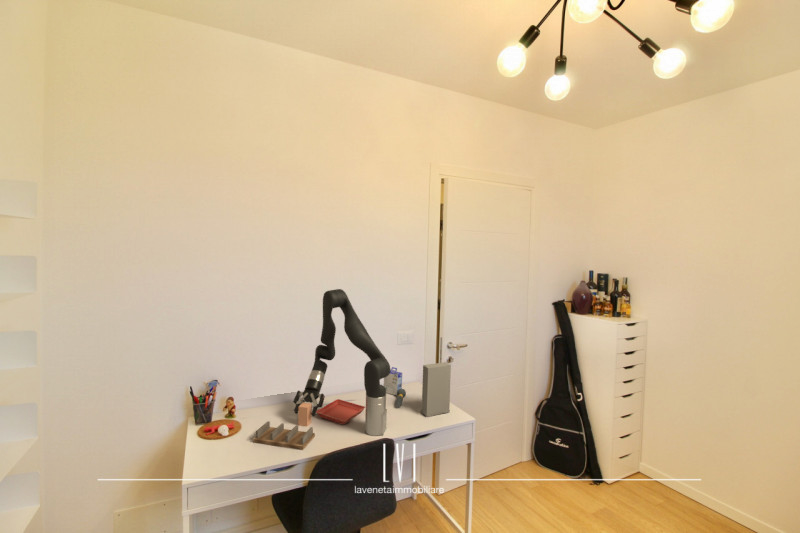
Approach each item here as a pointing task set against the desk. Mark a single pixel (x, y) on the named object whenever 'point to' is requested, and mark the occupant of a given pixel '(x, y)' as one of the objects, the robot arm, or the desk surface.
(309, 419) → the terracotta block
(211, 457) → the desk surface
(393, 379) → the ink cartridge box
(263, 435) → the walnut rack
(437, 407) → the tall grey upright block
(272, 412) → the desk surface
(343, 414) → the plant saucer
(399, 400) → the flashlight
